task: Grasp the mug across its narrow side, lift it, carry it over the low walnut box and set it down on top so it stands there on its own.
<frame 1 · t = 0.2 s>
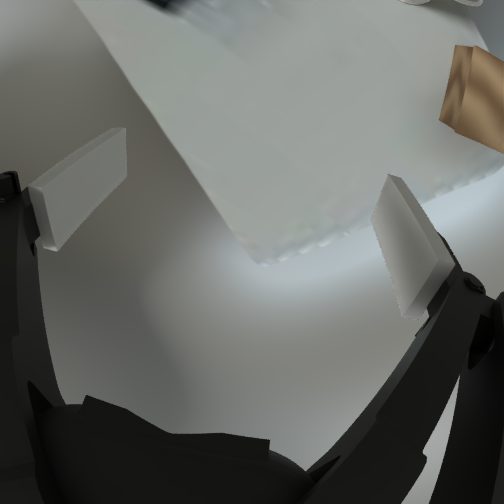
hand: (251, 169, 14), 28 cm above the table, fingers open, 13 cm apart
walnut box: (479, 96, 30), on the table
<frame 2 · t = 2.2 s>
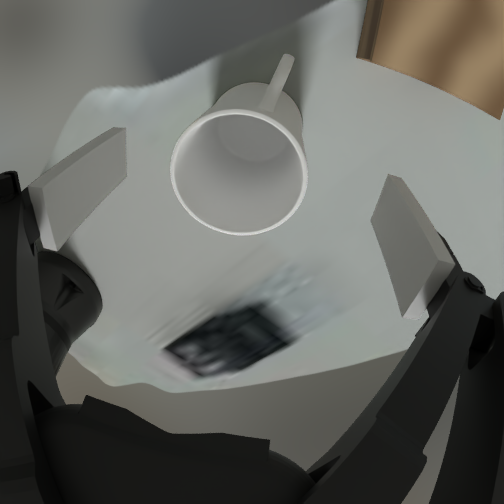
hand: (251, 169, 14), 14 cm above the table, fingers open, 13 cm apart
mug: (264, 111, 26), on the table
walnut box: (428, 23, 18), on the table
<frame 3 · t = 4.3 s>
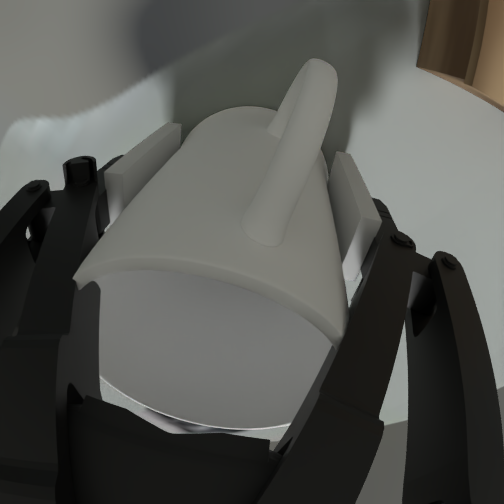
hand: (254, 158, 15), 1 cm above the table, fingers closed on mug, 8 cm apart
mug: (264, 155, 16), on the table, touching gripper
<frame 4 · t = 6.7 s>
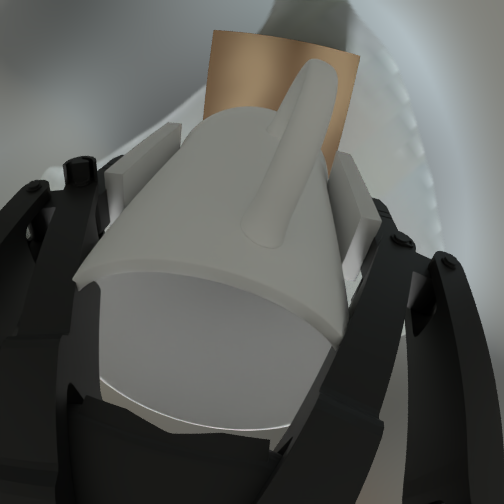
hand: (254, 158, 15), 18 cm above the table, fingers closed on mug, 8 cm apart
mug: (264, 155, 16), point 17 cm above the table, touching gripper
walnut box: (277, 95, 29), on the table
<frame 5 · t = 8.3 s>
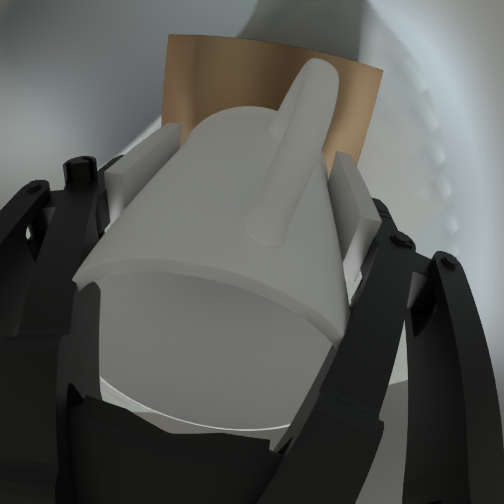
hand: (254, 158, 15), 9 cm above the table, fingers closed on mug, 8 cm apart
mug: (265, 155, 16), point 8 cm above the table, touching gripper
walnut box: (265, 120, 22), on the table
when the fingers open (8 cm above the table, at t = 9.4 s): mug stays where it is, resting on walnut box.
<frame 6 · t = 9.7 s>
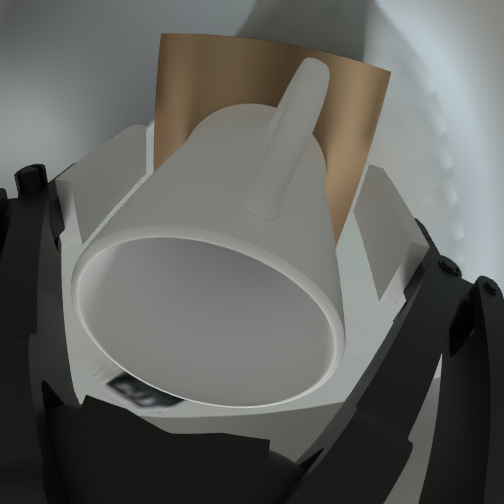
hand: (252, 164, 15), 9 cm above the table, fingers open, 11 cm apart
mug: (266, 150, 17), point 6 cm above the table, touching walnut box
walnut box: (265, 123, 21), on the table
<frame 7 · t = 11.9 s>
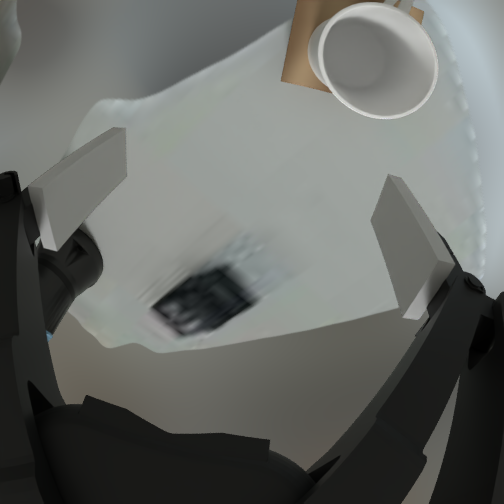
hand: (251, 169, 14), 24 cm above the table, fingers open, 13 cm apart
mug: (359, 43, 23), point 6 cm above the table, touching walnut box
walnut box: (346, 41, 28), on the table
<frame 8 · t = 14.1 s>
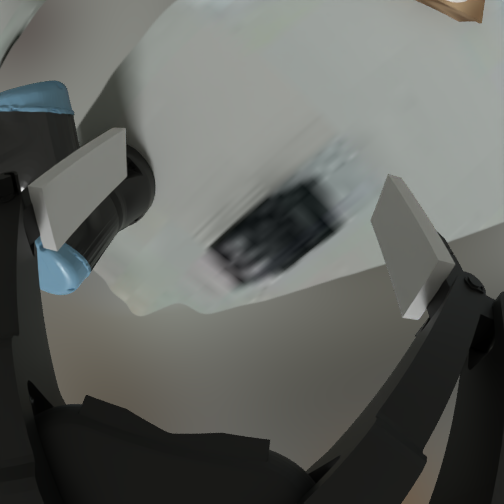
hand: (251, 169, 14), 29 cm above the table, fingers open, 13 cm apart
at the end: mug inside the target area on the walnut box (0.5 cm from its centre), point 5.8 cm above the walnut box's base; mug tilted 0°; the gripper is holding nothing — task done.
